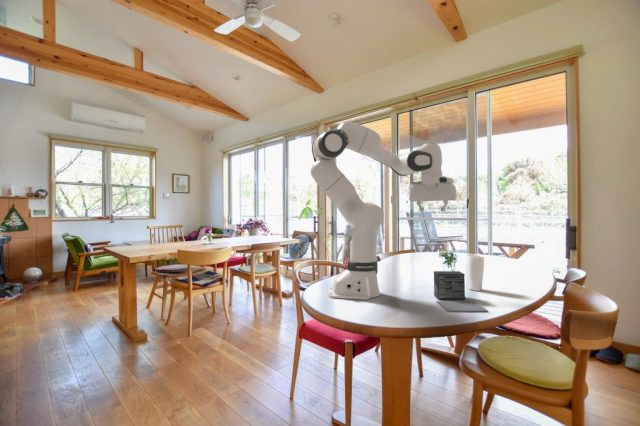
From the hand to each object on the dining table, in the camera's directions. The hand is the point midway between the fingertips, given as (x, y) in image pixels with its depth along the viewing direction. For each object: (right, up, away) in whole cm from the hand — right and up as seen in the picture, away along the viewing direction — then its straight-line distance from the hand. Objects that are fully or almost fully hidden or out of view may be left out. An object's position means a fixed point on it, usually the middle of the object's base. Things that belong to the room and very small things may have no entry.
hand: (432, 211), depth 136 cm
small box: (+2, -36, -13) cm, 38 cm away
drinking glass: (+19, -35, -1) cm, 40 cm away
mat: (+2, -35, -24) cm, 43 cm away
